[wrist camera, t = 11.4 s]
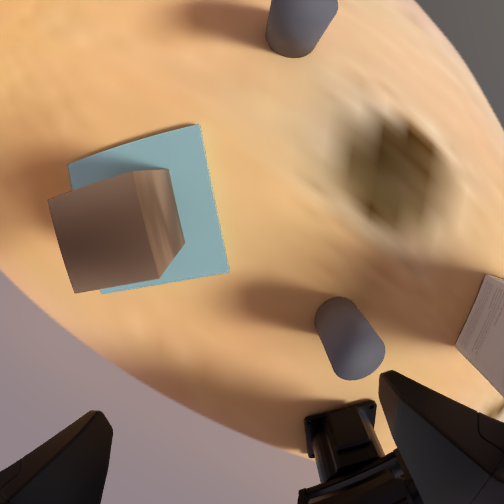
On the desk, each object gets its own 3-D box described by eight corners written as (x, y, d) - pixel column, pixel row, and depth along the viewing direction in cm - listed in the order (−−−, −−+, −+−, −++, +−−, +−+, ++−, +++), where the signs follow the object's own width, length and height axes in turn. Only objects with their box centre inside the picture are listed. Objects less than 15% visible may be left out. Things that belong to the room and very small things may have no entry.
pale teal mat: (229, 268, 19) (228, 272, 18) (104, 290, 19) (101, 294, 19) (200, 125, 17) (198, 124, 16) (72, 164, 17) (67, 164, 16)
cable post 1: (321, 56, 15) (345, 24, 11) (271, 60, 16) (280, 26, 11) (309, 16, 15) (328, -23, 10) (261, 19, 15) (266, -22, 10)
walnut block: (185, 242, 18) (159, 278, 12) (119, 256, 18) (74, 293, 12) (168, 169, 17) (132, 171, 11) (102, 188, 17) (47, 199, 11)
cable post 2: (358, 331, 21) (383, 372, 16) (316, 341, 21) (333, 385, 16) (356, 292, 20) (386, 328, 15) (312, 302, 20) (331, 342, 15)
